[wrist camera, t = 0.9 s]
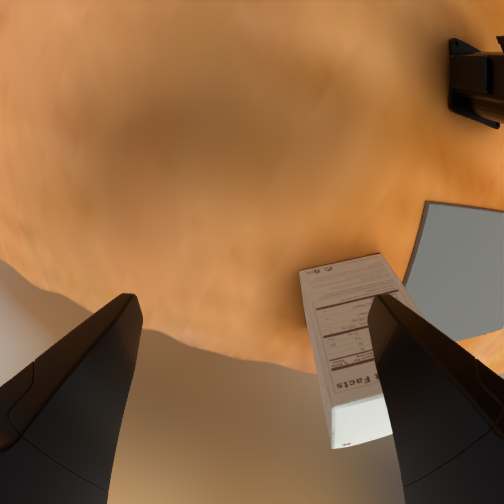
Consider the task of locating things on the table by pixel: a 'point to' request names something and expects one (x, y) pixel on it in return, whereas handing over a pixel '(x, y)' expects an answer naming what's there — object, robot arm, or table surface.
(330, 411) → the supplement box
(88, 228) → the table surface
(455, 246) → the mat
